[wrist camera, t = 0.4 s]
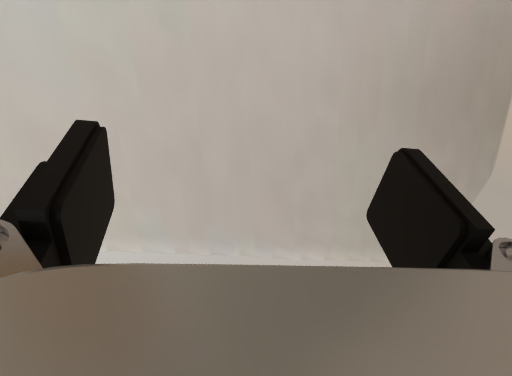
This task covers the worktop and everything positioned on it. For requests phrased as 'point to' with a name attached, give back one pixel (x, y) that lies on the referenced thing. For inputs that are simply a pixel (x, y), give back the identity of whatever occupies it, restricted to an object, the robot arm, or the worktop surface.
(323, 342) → the robot arm
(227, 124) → the worktop surface
